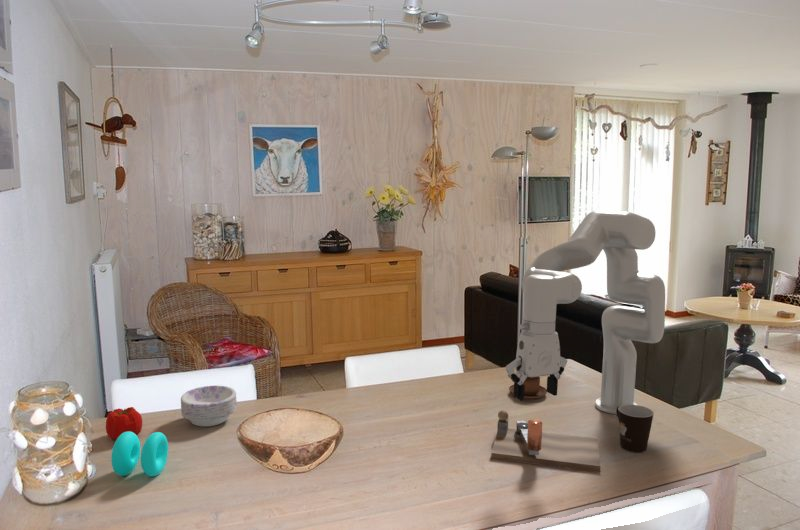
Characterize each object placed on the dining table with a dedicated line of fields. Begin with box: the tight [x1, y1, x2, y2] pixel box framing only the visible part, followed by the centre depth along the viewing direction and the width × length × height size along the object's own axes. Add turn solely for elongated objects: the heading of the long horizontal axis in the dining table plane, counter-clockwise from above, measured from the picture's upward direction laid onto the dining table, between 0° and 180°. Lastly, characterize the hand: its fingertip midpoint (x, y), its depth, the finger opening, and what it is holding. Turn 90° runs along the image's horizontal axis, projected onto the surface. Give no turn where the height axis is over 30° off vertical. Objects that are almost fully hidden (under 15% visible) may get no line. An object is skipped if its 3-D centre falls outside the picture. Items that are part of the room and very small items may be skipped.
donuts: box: [110, 431, 169, 477], centre depth 143 cm, size 10×10×10 cm
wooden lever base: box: [490, 409, 602, 473], centre depth 156 cm, size 16×26×7 cm, turn 75°
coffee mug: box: [616, 404, 655, 454], centre depth 160 cm, size 12×9×10 cm
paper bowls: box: [180, 385, 238, 428], centre depth 174 cm, size 15×15×8 cm
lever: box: [515, 418, 543, 455], centre depth 155 cm, size 18×4×8 cm, turn 0°
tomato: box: [105, 406, 143, 441], centre depth 163 cm, size 9×9×8 cm
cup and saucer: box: [508, 374, 548, 400], centre depth 196 cm, size 12×12×6 cm
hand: (535, 396), depth 146 cm, fingers open, 9 cm apart
